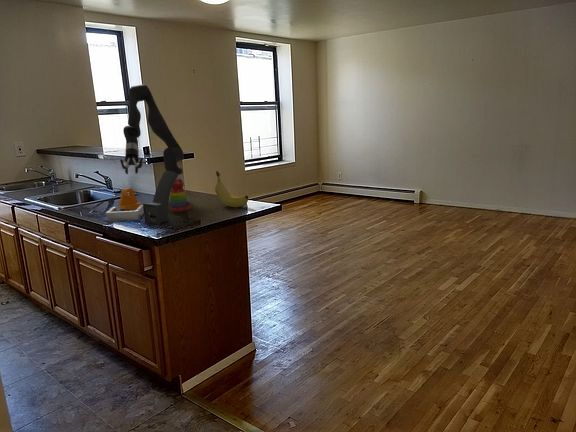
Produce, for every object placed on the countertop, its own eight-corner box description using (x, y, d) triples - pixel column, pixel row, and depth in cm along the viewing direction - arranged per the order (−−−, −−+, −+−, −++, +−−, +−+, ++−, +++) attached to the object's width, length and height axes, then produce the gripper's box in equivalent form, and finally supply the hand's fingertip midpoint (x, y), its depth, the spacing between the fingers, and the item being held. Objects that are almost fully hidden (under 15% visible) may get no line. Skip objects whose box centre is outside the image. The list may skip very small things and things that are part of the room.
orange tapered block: (125, 211, 250) (122, 190, 247) (119, 209, 255) (116, 189, 252) (142, 207, 257) (140, 187, 254) (137, 206, 262) (134, 186, 259)
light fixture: (184, 217, 231) (180, 171, 225) (158, 225, 217) (153, 176, 211) (170, 215, 236) (165, 170, 231) (144, 222, 222) (138, 175, 217)
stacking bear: (192, 208, 251) (190, 177, 247) (183, 212, 242) (180, 180, 238) (176, 207, 255) (173, 177, 250) (166, 211, 245) (163, 179, 241)
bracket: (144, 213, 243) (143, 205, 242) (138, 219, 229) (137, 211, 228) (114, 214, 242) (113, 206, 240) (106, 221, 228) (105, 213, 227)
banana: (251, 207, 249) (249, 172, 244) (245, 209, 244) (243, 173, 239) (220, 203, 260) (218, 170, 255) (214, 205, 255) (211, 171, 251)
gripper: (118, 148, 272) (118, 170, 264) (142, 147, 275) (142, 168, 267) (121, 155, 279) (120, 177, 270) (144, 154, 281) (144, 176, 273)
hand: (131, 173), depth 268 cm, fingers open, 4 cm apart
